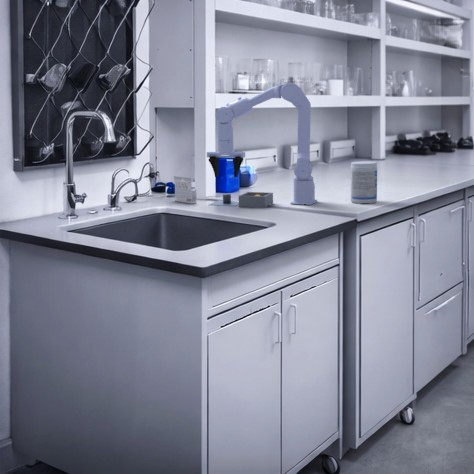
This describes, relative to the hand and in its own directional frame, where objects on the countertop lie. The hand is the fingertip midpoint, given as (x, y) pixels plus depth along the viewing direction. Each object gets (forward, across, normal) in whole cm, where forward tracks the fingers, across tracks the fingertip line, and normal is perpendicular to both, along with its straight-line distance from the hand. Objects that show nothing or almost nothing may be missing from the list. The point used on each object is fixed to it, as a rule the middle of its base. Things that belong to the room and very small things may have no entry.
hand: (226, 176), depth 253 cm
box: (+10, -12, +2) cm, 16 cm away
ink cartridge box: (+10, +17, 0) cm, 20 cm away
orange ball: (+8, -12, 0) cm, 14 cm away
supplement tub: (+10, -49, -13) cm, 52 cm away
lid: (+11, 0, 0) cm, 11 cm away
